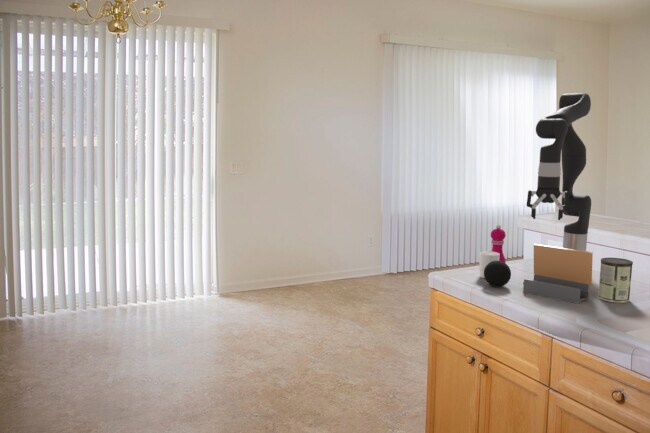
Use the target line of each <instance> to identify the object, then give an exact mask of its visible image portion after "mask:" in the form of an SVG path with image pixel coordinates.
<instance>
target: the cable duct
mask: <svg viewBox="0 0 650 433" xmlns="http://www.w3.org/2000/svg"><path fill="white" fill-rule="evenodd" d="M523 282H524V285H523V289H522V293H525V294H530V295H534V296H539V297H545V298H550V299H555V300H559V301H564V302H568V303H569V302H570V303H575V304H580V303H583V301H585V300H587V299H589V296H590V295H589V293H590V284H585V283H580V282H574V281H569V280H563V279H557V278H552V277H546V276H541V275H535V274H533V279H529V278H524V279H523ZM580 291H586V292H588V297H587V298H582V297H580Z"/></svg>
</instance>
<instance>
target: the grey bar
mask: <svg viewBox="0 0 650 433" xmlns="http://www.w3.org/2000/svg"><path fill="white" fill-rule="evenodd" d="M522 284H523V286H524V281H523V282H522ZM580 297H582V298H587V297H588V298H589V296H588V292H586V291H580ZM588 298H587V299H588Z"/></svg>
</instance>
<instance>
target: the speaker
mask: <svg viewBox="0 0 650 433" xmlns="http://www.w3.org/2000/svg"><path fill="white" fill-rule="evenodd" d="M511 272H512V271H511V268H510V266H509V265H508V264H507V263H506V262H505V263H504V262H502V261H492V262H490V263H489V264H487V266H486V267H485V269H484V278H483V279H484V280H485V281H486V282H487V284H488V285H490V286H491V287H495V288H496V287H497V288H500V287H503V286H506V285H507V284H508V283H509V282H510V280H511V276H512V273H511Z"/></svg>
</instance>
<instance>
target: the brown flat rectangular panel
mask: <svg viewBox="0 0 650 433" xmlns="http://www.w3.org/2000/svg"><path fill="white" fill-rule="evenodd" d="M593 255H594V254H593V251H587V250H586V251H581V250H574V249H567V248H563V247H560V246H553V245H544V244H538V243H534V244H533V275H541V276H546V277H552V278H557V279H563V280H569V281H574V282H580V283H585V284H589V285H592V283H593Z"/></svg>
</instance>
